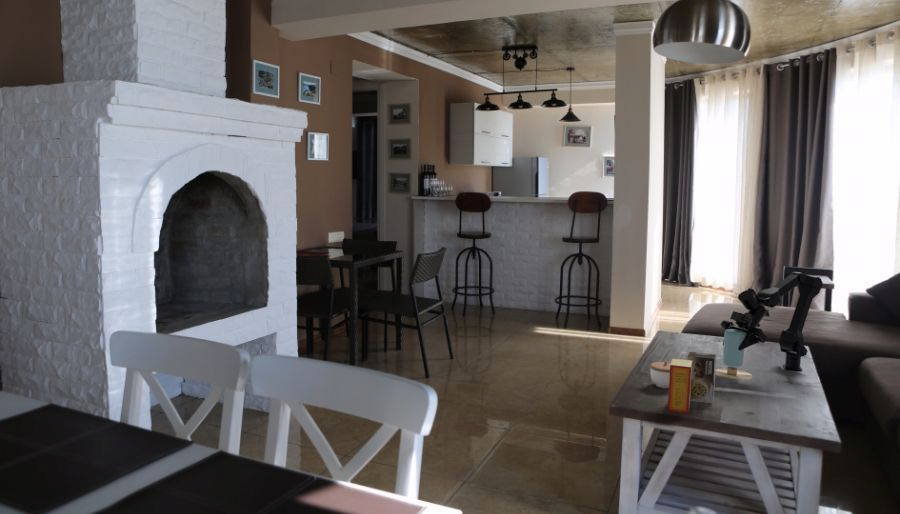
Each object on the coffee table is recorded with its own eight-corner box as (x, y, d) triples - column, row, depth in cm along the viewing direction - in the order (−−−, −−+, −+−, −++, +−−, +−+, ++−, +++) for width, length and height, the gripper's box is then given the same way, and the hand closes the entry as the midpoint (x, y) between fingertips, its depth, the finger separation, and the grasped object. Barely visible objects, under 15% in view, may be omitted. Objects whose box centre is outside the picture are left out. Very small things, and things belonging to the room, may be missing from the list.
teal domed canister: (726, 360, 278) (728, 328, 276) (745, 363, 273) (747, 331, 272) (720, 363, 272) (722, 331, 271) (739, 367, 268) (741, 334, 266)
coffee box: (714, 399, 245) (717, 354, 243) (712, 404, 239) (715, 358, 237) (687, 395, 249) (689, 351, 247) (684, 400, 243) (687, 355, 241)
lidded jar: (681, 391, 254) (682, 366, 253) (650, 388, 256) (651, 364, 255) (677, 382, 264) (679, 358, 263) (648, 380, 266) (649, 356, 265)
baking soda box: (669, 402, 240) (672, 357, 239) (689, 405, 238) (692, 359, 236) (667, 410, 232) (670, 363, 230) (688, 413, 229) (691, 366, 227)
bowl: (726, 372, 275) (727, 365, 275) (736, 373, 274) (736, 366, 274) (727, 374, 272) (727, 368, 272) (737, 375, 271) (737, 369, 271)
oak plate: (710, 370, 283) (710, 367, 283) (750, 373, 278) (750, 370, 278) (712, 380, 268) (712, 377, 268) (754, 384, 264) (754, 381, 264)
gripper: (725, 300, 280) (702, 329, 277) (763, 308, 263) (740, 339, 260) (738, 318, 284) (716, 347, 281) (776, 327, 268) (754, 358, 264)
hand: (731, 347), depth 271 cm, fingers closed on teal domed canister, 7 cm apart
